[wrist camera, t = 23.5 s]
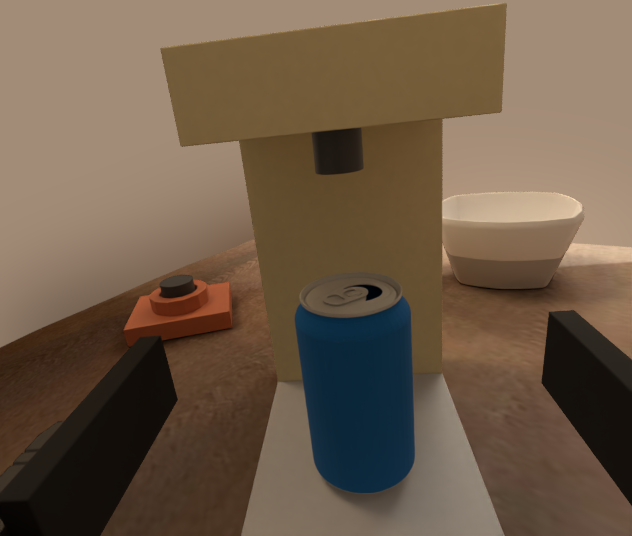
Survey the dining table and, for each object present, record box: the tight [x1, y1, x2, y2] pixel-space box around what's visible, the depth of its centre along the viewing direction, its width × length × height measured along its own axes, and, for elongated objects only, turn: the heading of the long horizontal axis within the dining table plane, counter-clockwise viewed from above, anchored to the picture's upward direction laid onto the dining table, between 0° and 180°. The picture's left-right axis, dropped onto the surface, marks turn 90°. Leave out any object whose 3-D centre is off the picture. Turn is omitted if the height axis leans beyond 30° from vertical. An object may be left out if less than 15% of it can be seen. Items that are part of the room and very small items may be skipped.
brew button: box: [160, 275, 195, 298], centre depth 52 cm, size 4×4×2 cm
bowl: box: [442, 192, 584, 289], centre depth 55 cm, size 18×18×9 cm
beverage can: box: [295, 272, 415, 494], centre depth 25 cm, size 6×6×12 cm
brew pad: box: [123, 280, 232, 347], centre depth 53 cm, size 12×10×4 cm
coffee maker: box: [161, 3, 507, 536], centre depth 26 cm, size 14×21×26 cm, turn 177°
